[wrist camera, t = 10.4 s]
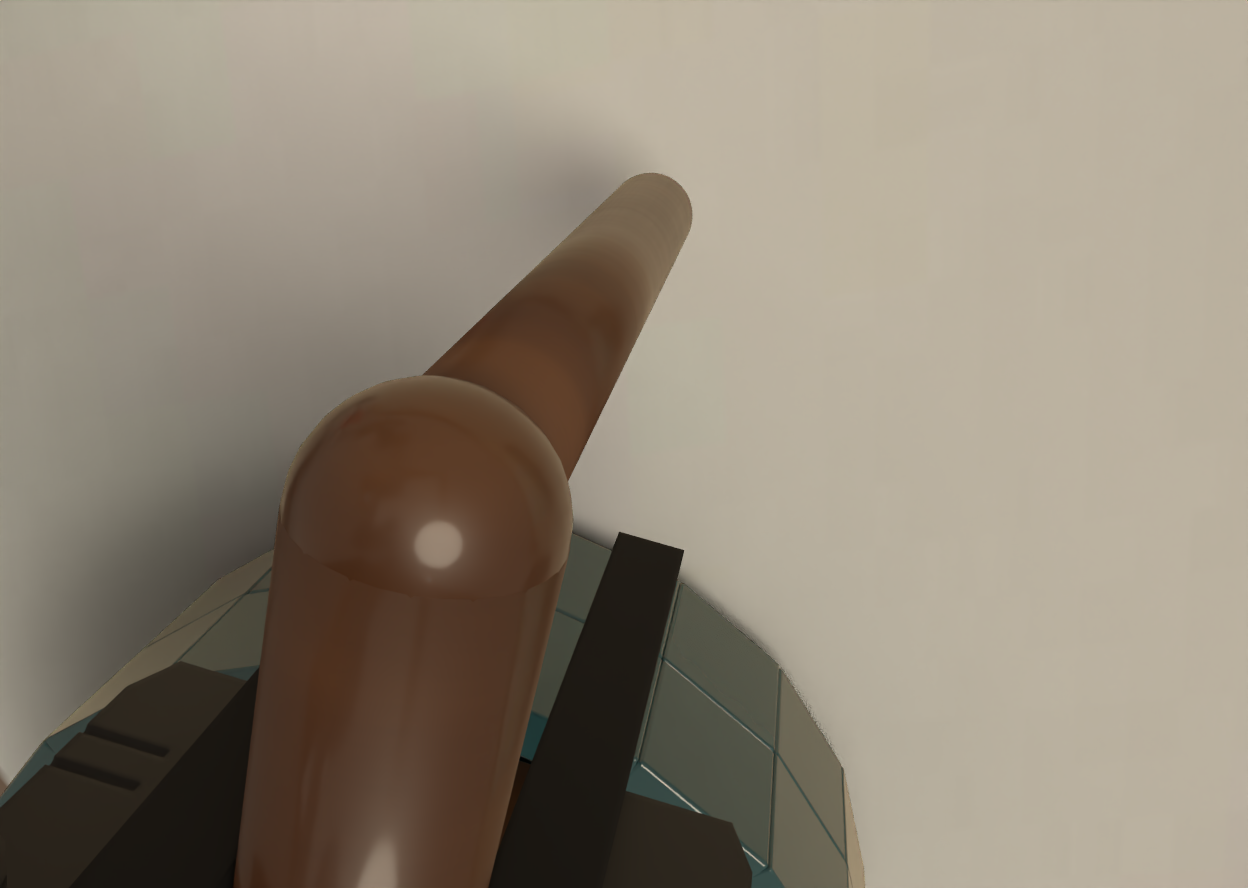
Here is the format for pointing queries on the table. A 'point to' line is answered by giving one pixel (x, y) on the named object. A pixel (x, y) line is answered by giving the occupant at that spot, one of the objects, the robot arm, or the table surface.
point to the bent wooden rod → (438, 575)
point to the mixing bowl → (670, 733)
